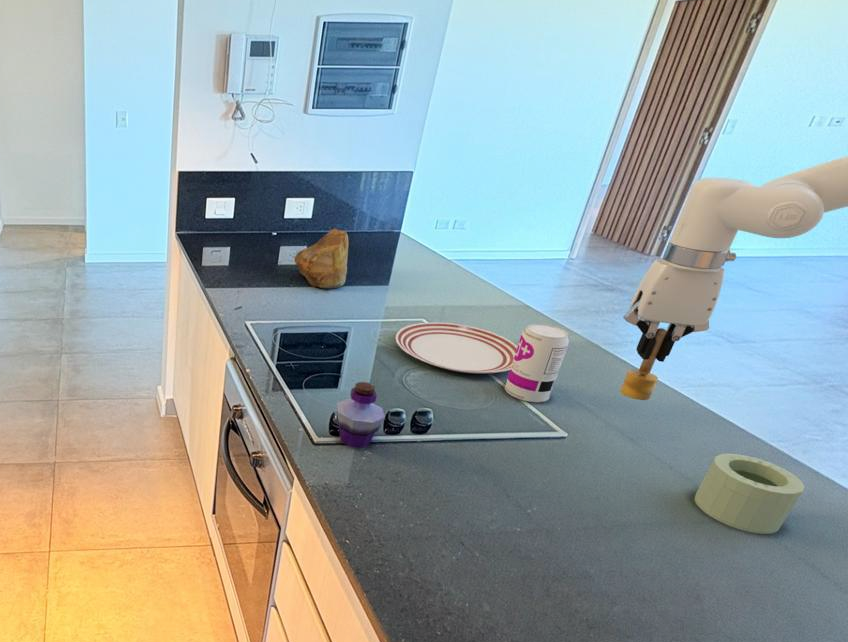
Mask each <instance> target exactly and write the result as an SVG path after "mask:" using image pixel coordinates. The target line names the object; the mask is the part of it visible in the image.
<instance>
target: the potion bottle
mask: <svg viewBox="0 0 848 642" xmlns="http://www.w3.org/2000/svg"><path fill="white" fill-rule="evenodd" d="M349 395H350V398H346V399H344V400H341V401H338V402H337V403H336V414H337V416H336V417H337V422H338V428H339V429H338V430H339V439H340V442H341V443H343V444H344V445H346V446H348V447H350V448H359V449H363V448H365V447H366V446H368V445H370V443H371V442H372V439H373V438H374V436H375V434H376V432H379V429H380V428H381V426H382V424H383V422H384V420H385V418H386V416H385V413H384V410H383V407H381V406H379V405H377V404H376V401H377V396H378V395H377V392H376V390H375V386H374V385H373V384H371V383H370V382H366V381H358V382H356V383H355V385H354V387H353V388H351V390H350V394H349Z"/></svg>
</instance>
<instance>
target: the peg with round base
mask: <svg viewBox="0 0 848 642" xmlns="http://www.w3.org/2000/svg"><path fill="white" fill-rule="evenodd" d="M666 330H667V329H665V328H664V327H658V329H657V331H656V334H655V337H654V338H655V339H656V343H655V346H654V348H653V350H652V353H651V355H650V357H649V359H647V360H645V359H642V362H641V364H640V366H639V369H629V370H627V372H626V374H625V377H624V379H623V382H622V384H621V387H620V389H619V392H620V394H622V395H623V396H626V397H627V398H630V399H633V400H639V401H648V400H650V399H651V398H652V397H651V396H652V395H653V392H654V390H655V387H656V385H657V382H658V381H659V377H658V376H657V375H655V374H653V373H651V371H652V369H653V367H654V364H655V362H656V360H657V359H656V357H657V355H658V353H659V350H660V348H661V345H662V343H663V341H664V338H665V336H666V333H667V332H666Z"/></svg>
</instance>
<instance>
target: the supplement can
mask: <svg viewBox="0 0 848 642" xmlns="http://www.w3.org/2000/svg"><path fill="white" fill-rule="evenodd" d="M569 344H570V341H569V337H568V332H567V331H566V330H564V329H562V328H560V327H558V326H554V325H550V324H544V323H531V324H528V325H527V326H526V328H525V329H524V330H523V331H522V332H521V335H520V338H519V341H518V344H517V346H518V347H517V350H516V353H515V356H514V359H513V363H512V366H511V369H510V370H509V372H508V375H507V379H506V381H505V385H504V391H505V392H506V393H507V394H508V395H510V396H511V397H513V398H515V399H517V400H519V401H524V402H529V403H542V402H547V401H548V400H550V397H551V394H552V391H553V388H554V385H555V384H556V380H557V378H558V375H559V372H560V369H561V366H562V364H563V360H564V358H565V356H566V353H567V349H568V346H569Z"/></svg>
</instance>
